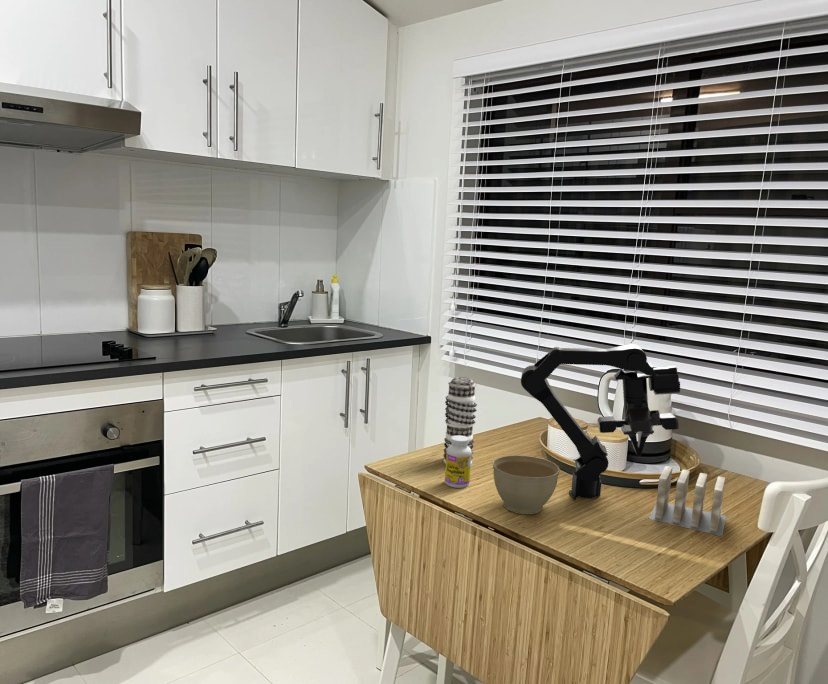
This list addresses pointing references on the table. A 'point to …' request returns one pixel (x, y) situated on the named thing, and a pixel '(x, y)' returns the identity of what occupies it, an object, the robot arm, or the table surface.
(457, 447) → the supplement bottle
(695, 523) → the domino
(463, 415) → the decorative candle
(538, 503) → the planter bowl
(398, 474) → the table surface
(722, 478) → the domino
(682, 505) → the domino
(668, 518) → the board
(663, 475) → the domino
